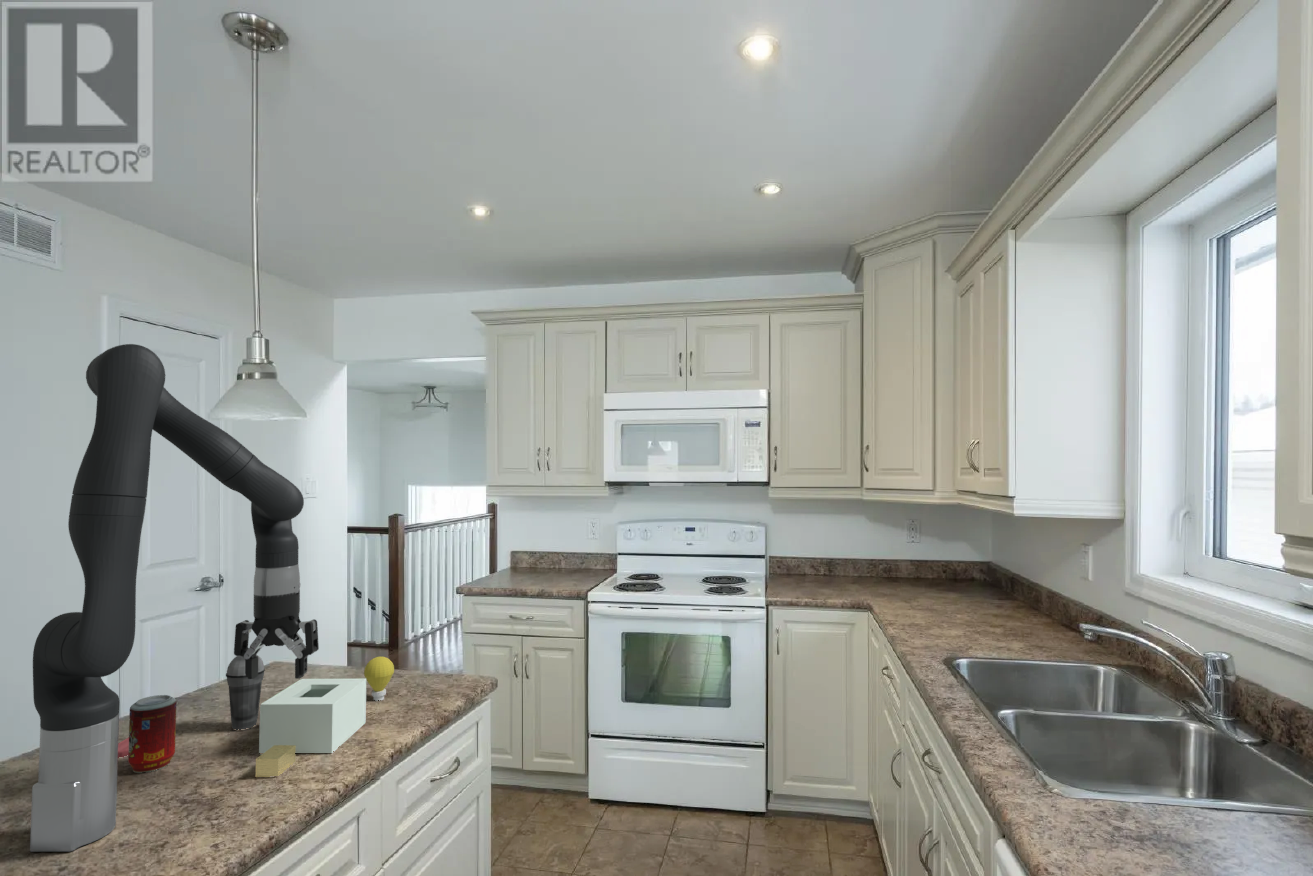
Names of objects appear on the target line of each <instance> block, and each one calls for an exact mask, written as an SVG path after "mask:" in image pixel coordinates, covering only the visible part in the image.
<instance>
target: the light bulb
mask: <svg viewBox="0 0 1313 876" xmlns="http://www.w3.org/2000/svg"><path fill="white" fill-rule="evenodd" d="M363 671H364V672H363V675H364V679H365V678H366V683H368V684H369V686H370V687H371V688H372V690H371V696H372V697H373V699H372V700H373V701H374V700H375V701H374V702H380V700H381V701H384V700H385V695H386V694H387V689H386V687H387V685H389V683H390V681H391V680H392V677H393V675H394V673H395V665H394V663H393V662H392V661H391V660H390V658H388V657H385V656H376V657H374V658H372V659H370V660H369V661H368V662H367V663H366V665H365V667H364V670H363ZM378 700H379V701H378Z"/></svg>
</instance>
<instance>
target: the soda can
mask: <svg viewBox="0 0 1313 876" xmlns="http://www.w3.org/2000/svg"><path fill="white" fill-rule="evenodd" d="M128 717H129V724H128V737H129V753H128V756H127V757H128V758H127V760H128V761H127V762H128V764H129V766H130V767H131V768H132V772H134V773H137V774H143V773H142V772H146V773H151V771H152V772H155V771H154V770H156V769H159V770H162V769H164V768H166V767H167V766H166V765H168V766H169V765H170V764H171V761H172V759H173V757H174V755H175V753H176V728H177V699H176V698H175V697H174V696H171V695H168V694H161V695H160V694H159V695H152V696H150V695H149V696H147V697H143V698H141V699H138V700H137V701H136V702H134V703H133V704H132V705H130V707H129V716H128ZM165 766H166V767H165ZM161 768H162V769H161ZM156 771H157V770H156Z"/></svg>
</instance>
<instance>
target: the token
mask: <svg viewBox="0 0 1313 876" xmlns="http://www.w3.org/2000/svg"><path fill="white" fill-rule="evenodd" d="M295 751H296V745H274V746H273V747H271V748H270V749H269V750H267V751H266V752H265V753H263V754H259V756H258V757H256V758H255V777H270V776H279V775H280V774H282V773H283V772H284V771H285V770H286V769H287V768H289V767H290V765H292V764H293V763H294V762H295V763H296V754H295ZM292 766H293V765H292ZM290 768H291V767H290ZM290 768H289V769H290ZM286 771H287V770H286ZM286 771H285V772H286ZM285 772H284V773H285ZM284 773H283V774H284ZM283 774H282V775H283ZM280 776H281V775H280ZM280 776H279V777H280Z"/></svg>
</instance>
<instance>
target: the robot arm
mask: <svg viewBox="0 0 1313 876" xmlns="http://www.w3.org/2000/svg"><path fill="white" fill-rule="evenodd" d="M85 380H86V383H87V386H88V388H89V390H90V391H91V392H92V393H93V395H95V396H96V407H95V409H96V410H95V411H96V412H95V421H94V422H95V423H94V427H93V431H92V433H91V434H92V435H91V438H90V440H89V443H88V445H87V447H86V450H85V453H84V455H83V457H82V460H81V462H80V466H79V469H78V471H77V474H76V477H75V481H74V484H73V489H72V493H71V494H72V495H71V499H70V507H69V513H68V514H69V515H68V525H67V527H68V534H69V538H70V540H71V543H72V547H73V549H74V551H75V554H76V556H77V559H78V562H79V564H80V567H81V569H82V570H81V571H82V574H83V579H84V595H83V603H82V610H81V611H72V612H71V611H70V612H66V613H62V614H59V615H57V616H54V617H53V618H52V619H50V620H49V621H48V622H47V623H46V624H44V626H43V627H42V628H41V630H40V632H39V633H38V635H37V637H36V640H35V641H34V642H35V643H34V645H33V651H32V689H33V690H32V695H33V696H32V697H33V704H34V705H33V706H34V707H35V710H36V711H37V714H38V715H39V721H40V724H39V727H40V729H39V747H38V748H39V749H38V750H39V751H38V753H39V754H38V756H39V757H38V776H37V778H38V780H37V781H38V782H36V783H34V784H33V785H32V788H31V810H30V811H31V814H30V815H31V816H30V835H29V836H30V838H29V839H30V840H29V852H32V853H33V852H35V853H36V852H37V853H38V852H42V853H43V852H73V851H75V850H76V849H78V848H80V847H82V846H85V845H87V844H88V845H89V844H91V843H93V842H95V841H98V840H100V839H101V838H104V837H106V836H107V835H108V834H111V832H113V830H114V829H115V828H116V824H117V820H116V819H117V796H118V795H117V794H118V792H117V791H118V790H117V789H118V766H119V765H118V764H119V763H118V761H119V760H118V759H119V758H118V743H119V733H120V732H119V731H120V698H119V697H120V696H119V695H118V694H117V693H116V692H115V691H113V690H112V689H111V688H110V687H109V686H107V684H106V683H105V682H104V681H103V679H102V678H103V677H107V676H109V675H112V674H113V673H116V672H117V671H118V670H119V669H121V668H122V667H123V665H124V664H125V663H126V662H127V660H128V658H129V656H130V655H131V653H132V649H133V646H134V642H135V635H136V619H137V618H136V608H137V607H136V602H137V598H136V597H137V595H136V594H137V573H138V566H139V564H138V563H139V555H140V547H141V546H140V545H141V535H142V530H143V524H144V520H145V512H146V506H147V497H148V486H149V475H150V465H151V444H152V443H151V442H152V435H153V431H154V432H155V433H157V434H159V435H160V436H161V437H163V438H164V439H165V440H167V441H168V442H169V443H171V444H172V445H173V446H175V447H176V448H177V449H178V450H180V451H181V452H182V453H184V454H185V455H186V456H188V457H189V458H190V459H191V460H193V461H194V462H195V463H196V464H197V465H199V467H201V468H202V469H204V470H205V471H206V472H207V473H209V474H210V475H211V476H212V477H213V478H215V479H216V480H217V481H219V482H220V483H221V484H223V486H224V487H227V488H228V489H231V490H232V491H235V492H237V493H239V494H241V495H242V496H243V497H245V498H246V499H247V500H248V501H249V502H250V513H251V521H252V528H253V533H254V538H255V544H256V545H255V569H254V577H253V617H254V620H253V622H252V621H250V620H248V619H246V620H243V621H241V622H238V623H236V625H235V629H234V630H235V631H234V648H233V655H234V656H235V657H236V656H242V657H244V658H245V674H246V676H248V679H254V678H256V677H257V676H258V656H259V655H258V654H259V652H260V651H261V649H262V648H263V647H264V646H265V647H271V646H277V647H283V646H285V647H286V648H287V649H288V650H289V651H291V652H292V653H293V655H294V656H295V657H296V658H295V659H294V660H295V661H294V678H295V680H298V679H299V680H301V679H303V677H304V676H305V674H307V672H308V657H309V656H312V654H314V653H316V652H317V651H319V648H320V647H319V631H318V630H319V628H318V621H317V619H311V620H308V621H302V620H301V618H300V612H301V611H300V610H301V607H300V606H301V602H300V601H301V599H300V598H301V576H300V575H301V574H300V568H299V540H298V537H297V535H296V534H295V533H294V531H293V525H292V523H293V522H292V520H293V519H294V518H296V517H297V516H299V514H301V513H302V511H303V508H304V506H305V505H304V503H305V501H304V496H303V494H302V492H301V490H300V489H299V488H298V486H296V485H295V484H294V483H293V482H292V481H291V480H289V479H287V478H286V477H285V476H283V475H282V474H280V473H279V472H278V471H276V470H274V469H273V468H272V467H269V466H268V465H266V464H265V463H263V461H261V460H260V459H259V458H258V457H257V456H256V455H254V453H253V452H251V451H250V450H249V449H248V448H247V447H246V446H244V445H243V444H242V443H241V442H239V441H238V440H237V439H236V438H235V437H233V436H232V435H231V434H229V433H227V431H225V430H223V429H222V428H220V427H218V426H217V425H215V424H214V423H212V422H210V421H209V420H206V419H205V418H203V417H201V416H199V414H196V413H195V412H193V411H192V410H191V409H189V407H187V406H185V405H184V404H183V403H181V402H180V401H179V400H177V399H176V397H174V396H173V395H172V394H171V393H170V392H169V390H167V389H166V387H165V383H166V369H165V366H164V363H163V362H162V360H161V359H160V357H159V356H158V355H157V353H155V351H152V350H151V349H149V348H148V347H146V346H143V345H140V344H134V343H129V344H128V343H127V344H126V343H124V344H119V345H116V346H112V347H110V348H108V349H106V350H104V351H103V352H102V353H100V354H98V355H97V356H96V357H95V358H92V360H91V361H90V362H89V364H88V366H87V368H86V372H85ZM300 629H301V631H302V633H303V634H304V637H305V638H304V639H305V640H303V638H302V636H300V634H299V633H298V632H299V631H300ZM252 631H253V632H254V634H255V636H256V637H255V639H254V640H253V641H252V642H251V644H249V639H250V633H251V632H252ZM304 641H305V643H304ZM256 655H258V656H256Z"/></svg>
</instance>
